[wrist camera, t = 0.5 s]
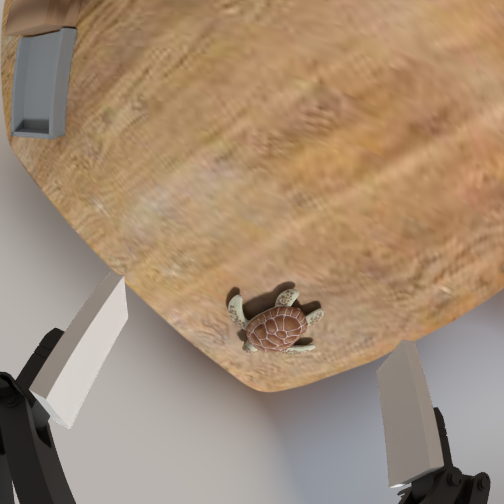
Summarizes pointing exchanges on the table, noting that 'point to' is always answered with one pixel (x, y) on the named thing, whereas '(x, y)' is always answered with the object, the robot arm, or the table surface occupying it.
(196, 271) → the table surface
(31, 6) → the brown block
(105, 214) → the table surface
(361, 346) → the table surface
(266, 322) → the decorative turtle
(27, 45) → the tray
